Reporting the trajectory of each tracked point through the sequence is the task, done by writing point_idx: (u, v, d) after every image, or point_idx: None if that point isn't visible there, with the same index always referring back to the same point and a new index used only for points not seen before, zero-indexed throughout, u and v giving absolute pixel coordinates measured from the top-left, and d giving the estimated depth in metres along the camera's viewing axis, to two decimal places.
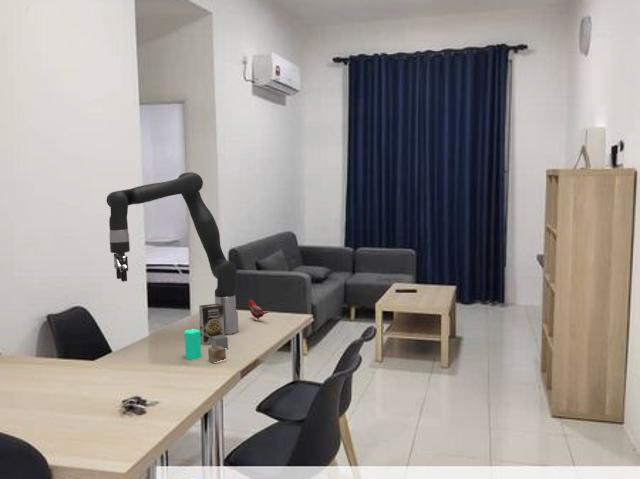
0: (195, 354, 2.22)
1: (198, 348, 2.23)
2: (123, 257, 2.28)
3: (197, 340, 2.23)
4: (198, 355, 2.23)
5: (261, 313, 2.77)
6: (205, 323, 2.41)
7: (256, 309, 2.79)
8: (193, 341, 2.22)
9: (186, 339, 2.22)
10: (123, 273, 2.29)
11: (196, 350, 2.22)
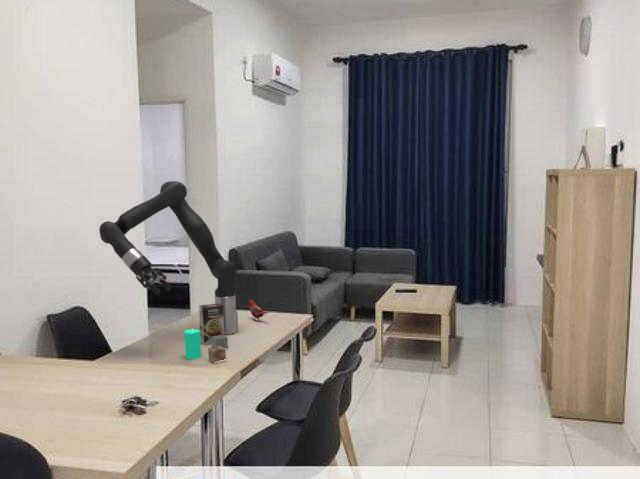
0: (195, 354, 2.22)
1: (198, 348, 2.23)
2: (137, 276, 2.20)
3: (197, 340, 2.23)
4: (198, 355, 2.23)
5: (261, 313, 2.77)
6: (205, 323, 2.41)
7: (256, 309, 2.79)
8: (193, 341, 2.22)
9: (186, 339, 2.22)
10: (151, 288, 2.20)
11: (196, 350, 2.22)
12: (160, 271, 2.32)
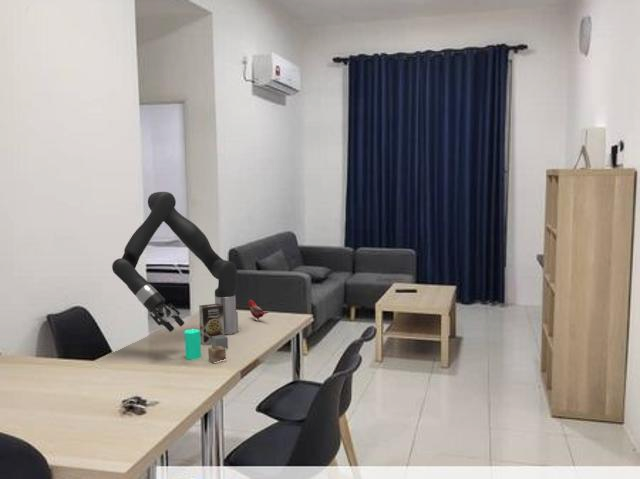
0: (195, 354, 2.22)
1: (198, 348, 2.23)
2: (151, 313, 2.20)
3: (197, 340, 2.23)
4: (198, 355, 2.23)
5: (261, 313, 2.77)
6: (205, 323, 2.41)
7: (256, 309, 2.79)
8: (193, 341, 2.22)
9: (186, 339, 2.22)
10: (164, 325, 2.21)
11: (196, 350, 2.22)
12: (173, 306, 2.32)
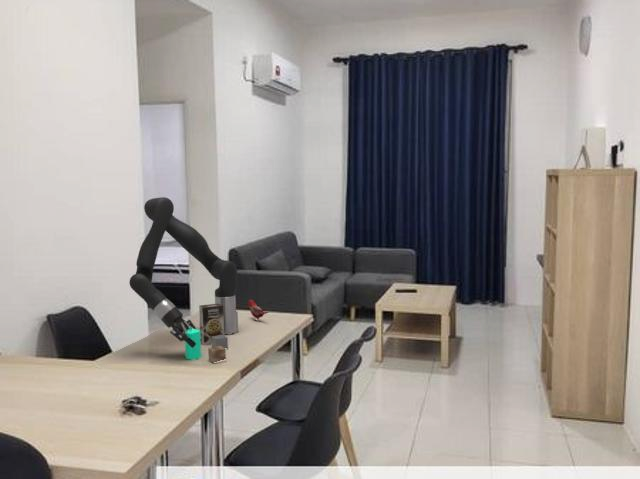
0: (195, 354, 2.22)
1: (198, 348, 2.23)
2: (172, 331, 2.19)
3: (197, 340, 2.23)
4: (198, 355, 2.23)
5: (261, 313, 2.77)
6: (205, 323, 2.41)
7: (256, 309, 2.79)
8: None
9: None
10: (186, 341, 2.21)
11: (196, 350, 2.22)
12: (192, 323, 2.31)
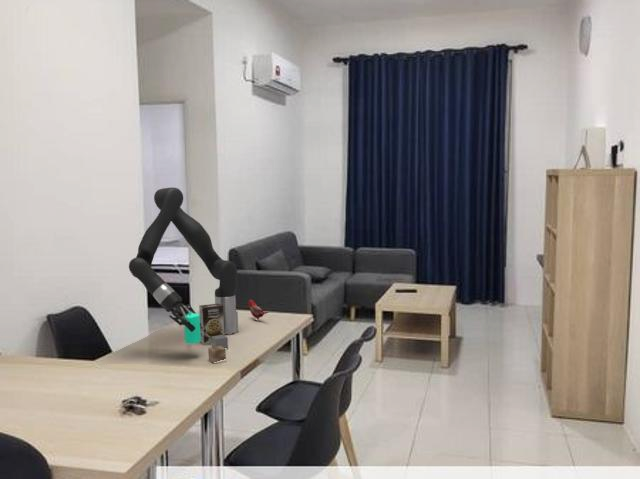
0: (194, 338, 2.22)
1: (198, 332, 2.23)
2: (171, 315, 2.18)
3: (196, 324, 2.22)
4: (198, 339, 2.23)
5: (261, 313, 2.77)
6: (205, 323, 2.41)
7: (256, 309, 2.79)
8: None
9: None
10: (186, 325, 2.20)
11: (196, 334, 2.22)
12: (191, 308, 2.30)
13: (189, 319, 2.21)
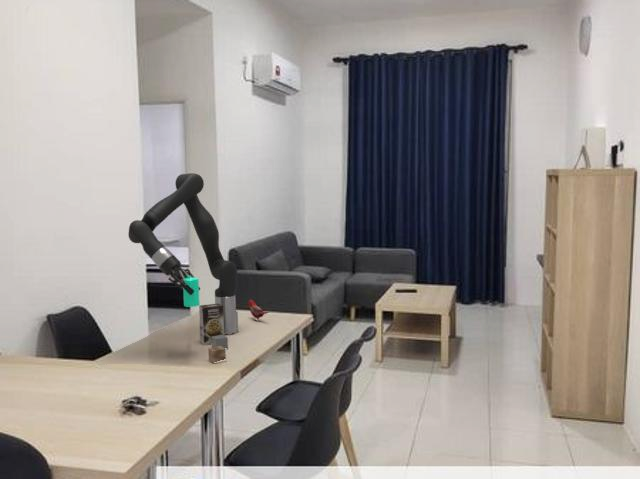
0: (193, 302, 2.22)
1: (196, 296, 2.23)
2: (170, 277, 2.18)
3: (195, 287, 2.22)
4: (196, 303, 2.23)
5: (261, 313, 2.77)
6: (205, 323, 2.41)
7: (256, 309, 2.79)
8: None
9: None
10: (185, 288, 2.21)
11: (194, 297, 2.22)
12: (190, 272, 2.30)
13: (188, 282, 2.21)
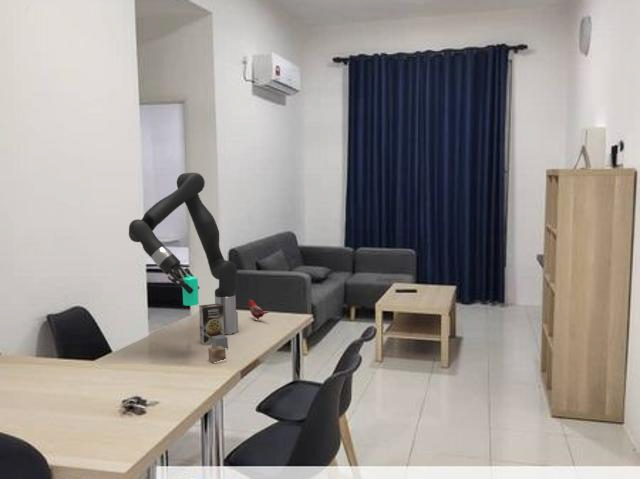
0: (192, 301, 2.23)
1: (195, 295, 2.24)
2: (169, 276, 2.20)
3: (194, 286, 2.23)
4: (195, 302, 2.24)
5: (261, 313, 2.77)
6: (205, 323, 2.41)
7: (256, 309, 2.79)
8: None
9: None
10: (184, 287, 2.22)
11: (193, 296, 2.23)
12: None
13: (187, 281, 2.22)
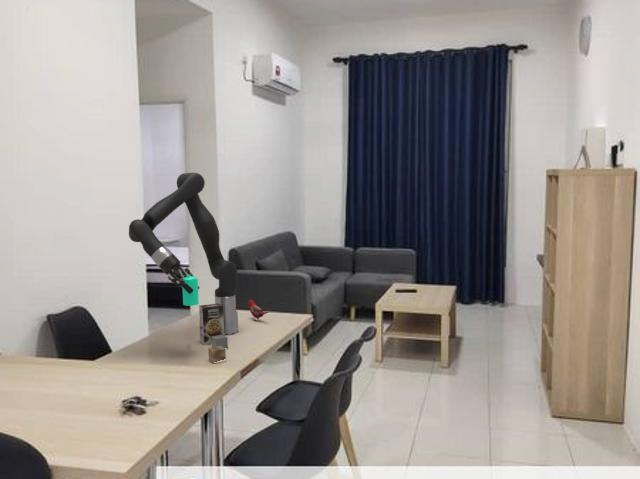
0: (192, 301, 2.23)
1: (195, 295, 2.24)
2: (169, 276, 2.20)
3: (194, 286, 2.23)
4: (195, 302, 2.24)
5: (261, 313, 2.77)
6: (205, 323, 2.41)
7: (256, 309, 2.79)
8: None
9: None
10: (184, 287, 2.22)
11: (193, 296, 2.23)
12: None
13: (187, 281, 2.22)
